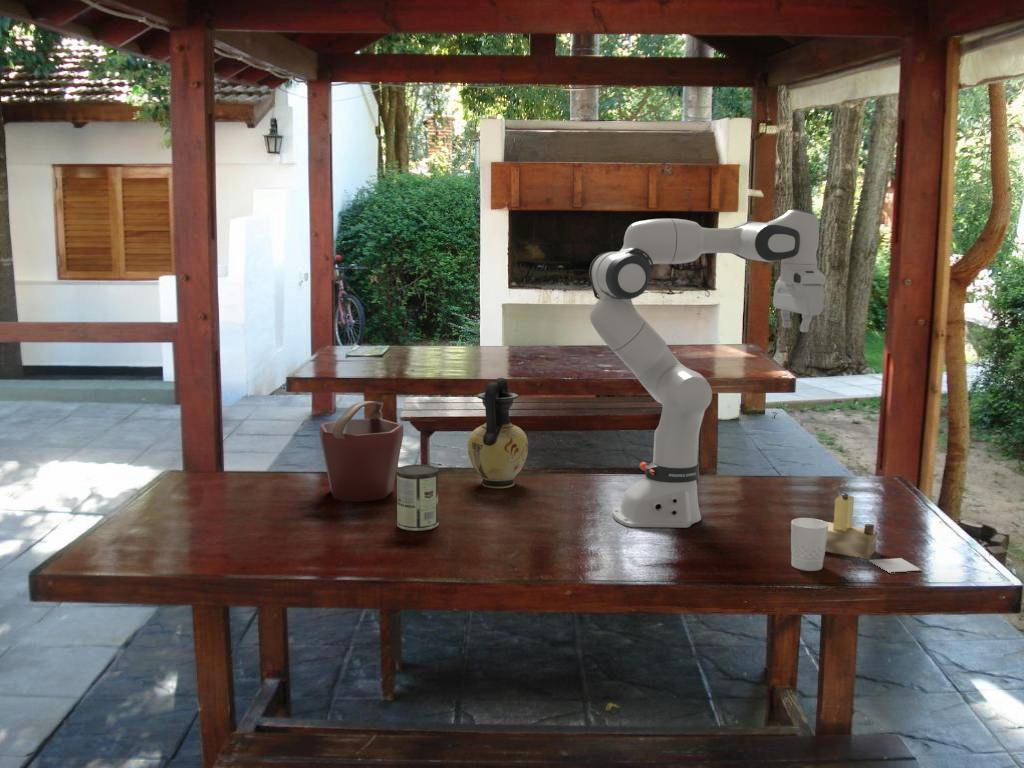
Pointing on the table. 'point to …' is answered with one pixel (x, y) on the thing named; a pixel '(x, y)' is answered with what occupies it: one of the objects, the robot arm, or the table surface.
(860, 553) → the body
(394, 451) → the bucket
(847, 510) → the brass knob block
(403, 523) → the coffee can
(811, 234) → the robot arm
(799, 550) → the white cup
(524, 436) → the amphora
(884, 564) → the mat
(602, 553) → the table surface
